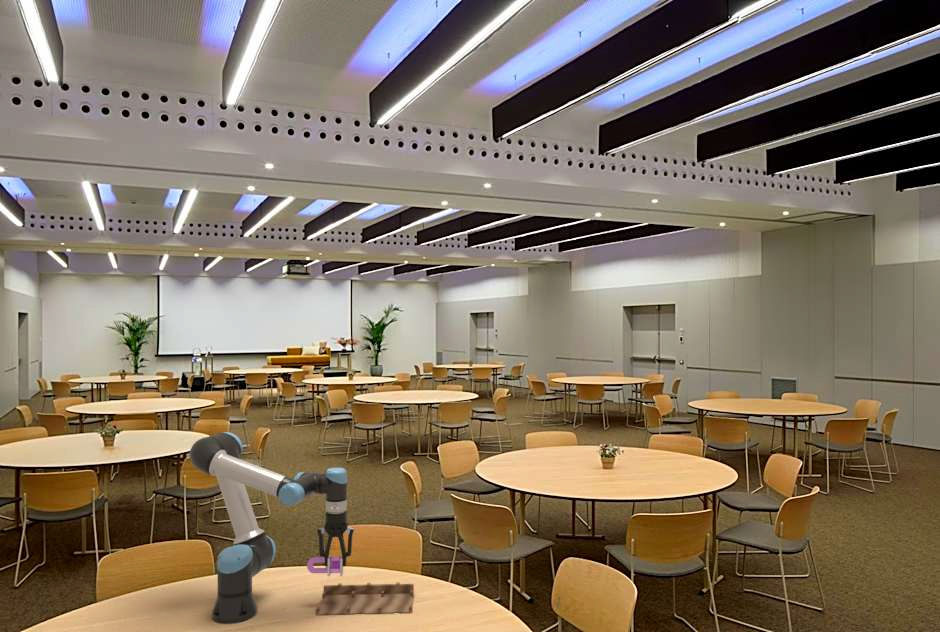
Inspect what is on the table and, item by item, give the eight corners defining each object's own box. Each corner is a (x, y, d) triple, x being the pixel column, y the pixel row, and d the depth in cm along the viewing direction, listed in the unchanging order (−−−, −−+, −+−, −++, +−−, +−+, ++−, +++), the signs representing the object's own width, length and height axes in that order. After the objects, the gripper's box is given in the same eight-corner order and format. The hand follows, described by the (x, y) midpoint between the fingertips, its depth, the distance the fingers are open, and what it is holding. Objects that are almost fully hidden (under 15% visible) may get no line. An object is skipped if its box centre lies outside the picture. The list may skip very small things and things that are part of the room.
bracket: (343, 557, 246) (340, 556, 239) (342, 573, 244) (339, 572, 237) (308, 557, 245) (304, 556, 239) (307, 573, 243) (303, 573, 237)
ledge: (315, 617, 233) (315, 603, 233) (324, 596, 250) (324, 583, 250) (411, 615, 234) (411, 601, 234) (413, 595, 251) (413, 582, 251)
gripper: (310, 514, 236) (310, 579, 236) (358, 514, 237) (357, 578, 237) (314, 508, 244) (314, 571, 244) (360, 508, 245) (359, 570, 245)
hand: (335, 574), depth 241 cm, fingers closed on bracket, 4 cm apart
